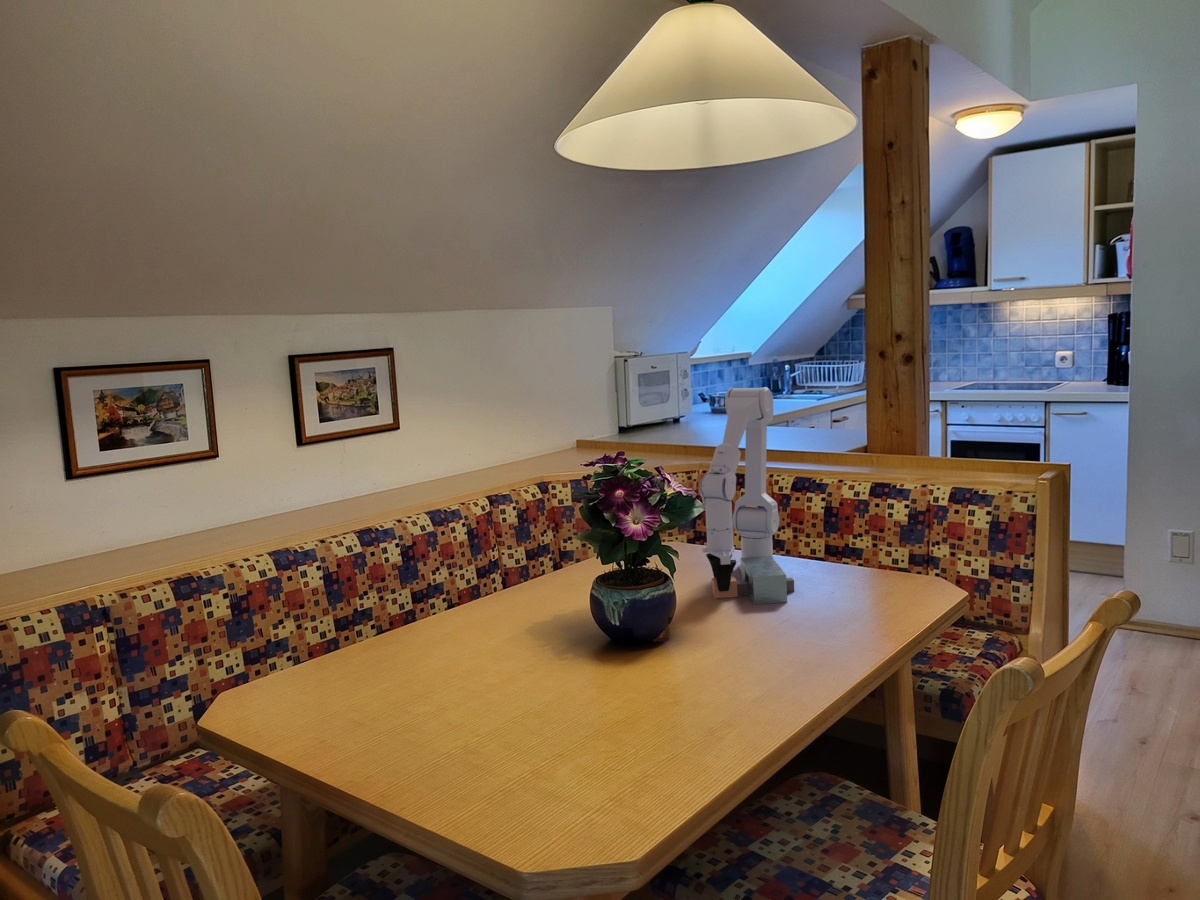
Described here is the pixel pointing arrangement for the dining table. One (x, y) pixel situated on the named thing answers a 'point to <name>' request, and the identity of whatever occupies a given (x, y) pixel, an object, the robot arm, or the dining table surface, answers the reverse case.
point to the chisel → (741, 588)
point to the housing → (764, 580)
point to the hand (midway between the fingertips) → (722, 588)
